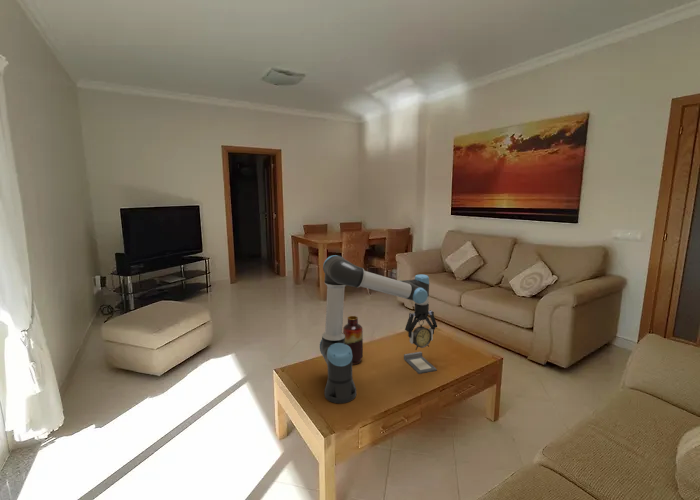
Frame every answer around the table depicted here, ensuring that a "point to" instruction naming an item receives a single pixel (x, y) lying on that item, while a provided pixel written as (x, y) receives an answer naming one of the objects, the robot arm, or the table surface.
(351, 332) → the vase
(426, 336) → the alarm clock
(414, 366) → the mat
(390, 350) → the table surface
